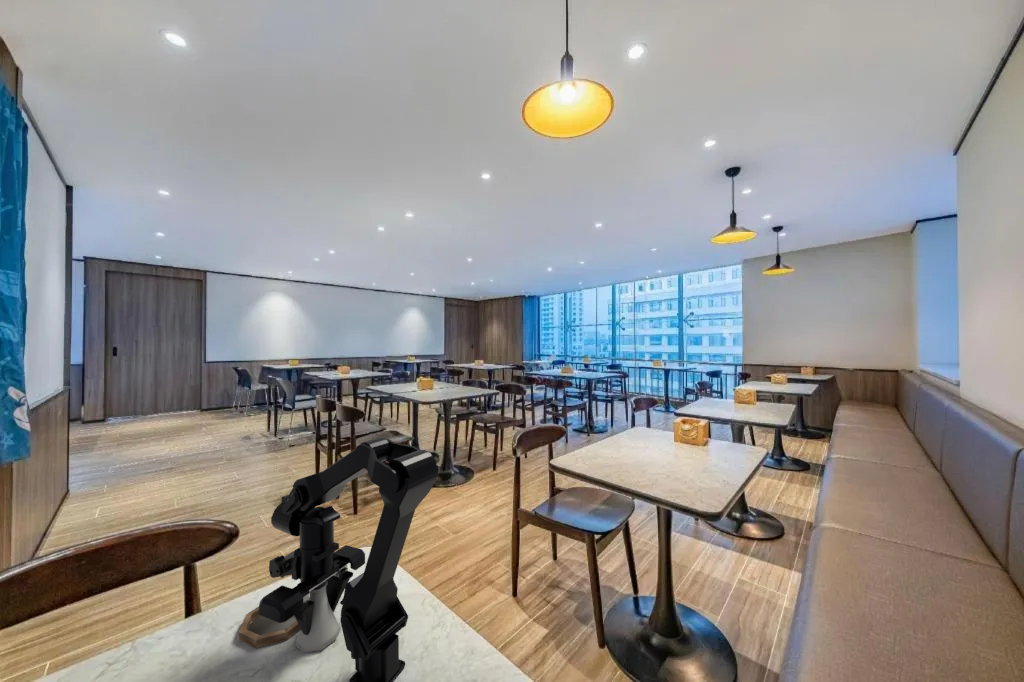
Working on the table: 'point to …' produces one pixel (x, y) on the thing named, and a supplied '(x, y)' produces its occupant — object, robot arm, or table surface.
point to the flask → (319, 623)
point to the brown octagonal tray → (266, 630)
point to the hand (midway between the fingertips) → (318, 624)
